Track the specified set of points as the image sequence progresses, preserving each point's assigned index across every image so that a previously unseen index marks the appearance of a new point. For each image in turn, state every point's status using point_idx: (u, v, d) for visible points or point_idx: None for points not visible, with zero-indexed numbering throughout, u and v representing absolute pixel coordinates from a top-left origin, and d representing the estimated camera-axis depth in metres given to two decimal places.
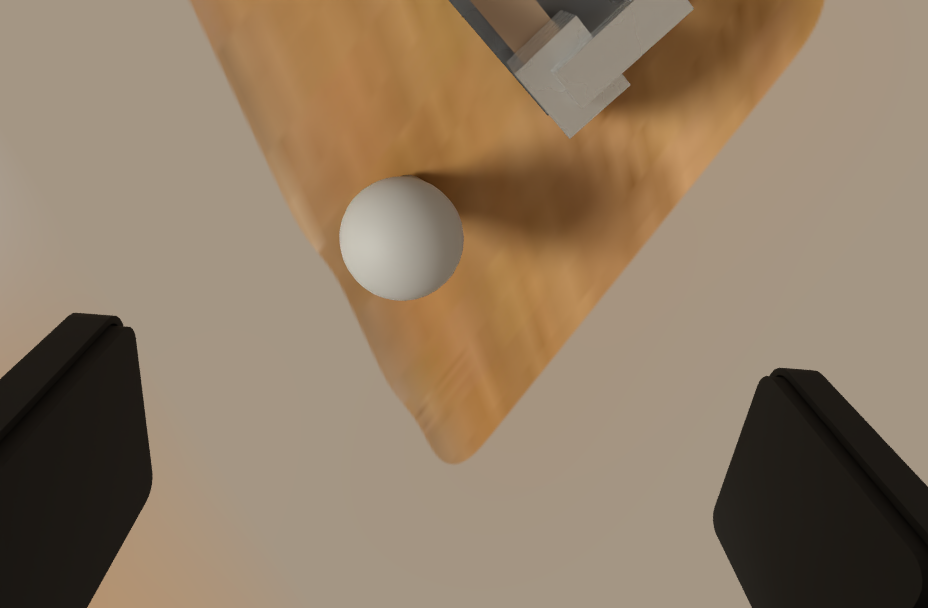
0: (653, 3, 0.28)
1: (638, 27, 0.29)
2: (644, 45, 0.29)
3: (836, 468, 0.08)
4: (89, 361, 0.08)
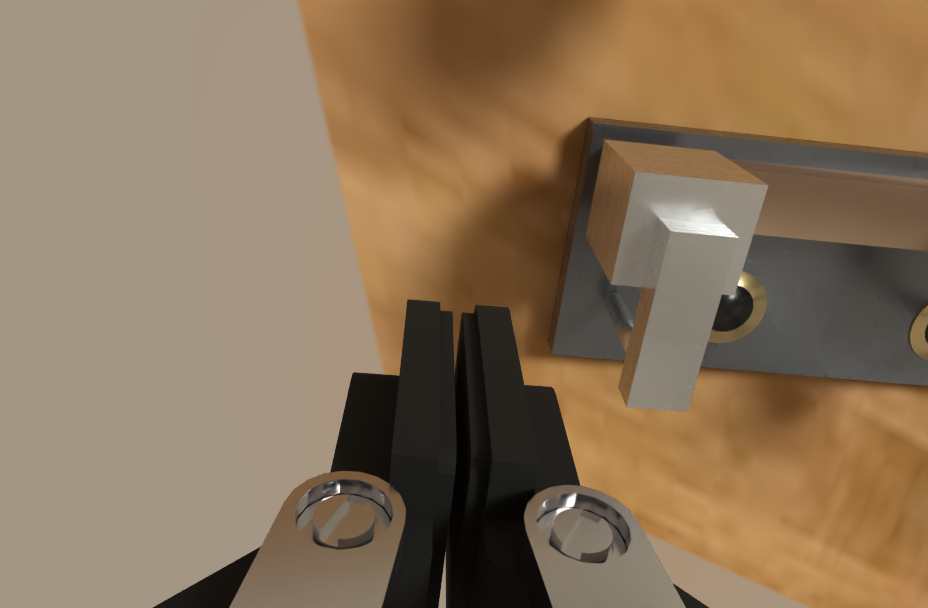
0: (676, 380, 0.21)
1: (673, 351, 0.21)
2: (651, 342, 0.21)
3: (466, 384, 0.09)
4: (448, 339, 0.10)
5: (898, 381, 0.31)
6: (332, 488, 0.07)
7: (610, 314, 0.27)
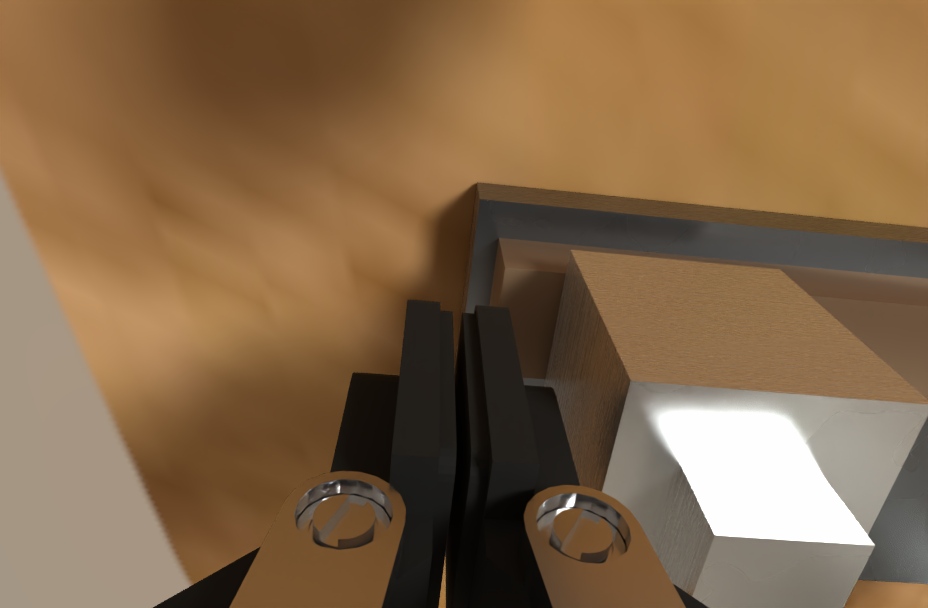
0: None
1: None
2: None
3: (466, 384, 0.09)
4: (448, 340, 0.10)
5: None
6: (332, 488, 0.07)
7: None
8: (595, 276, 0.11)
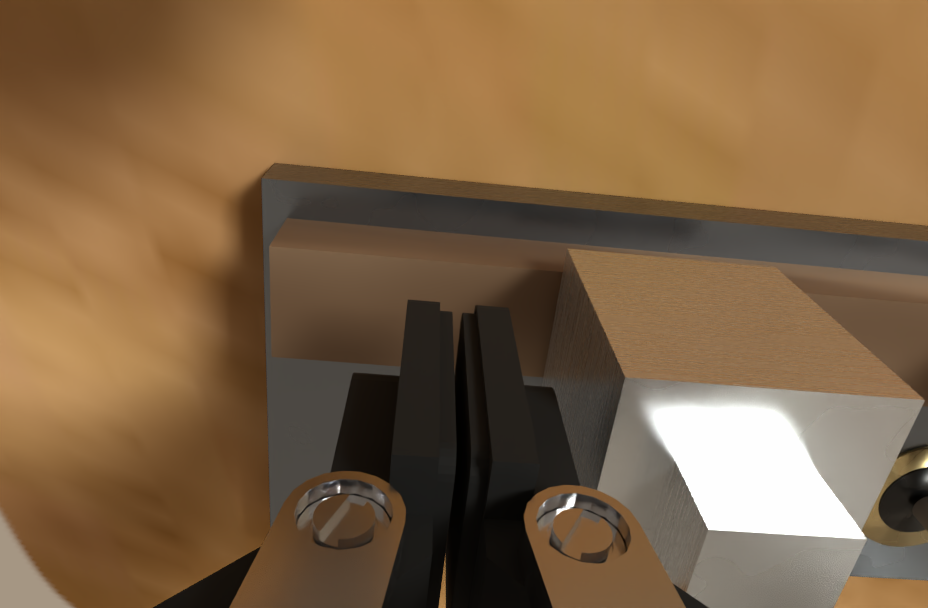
0: None
1: None
2: None
3: (466, 384, 0.09)
4: (447, 339, 0.10)
5: None
6: (332, 488, 0.07)
7: None
8: (591, 274, 0.11)
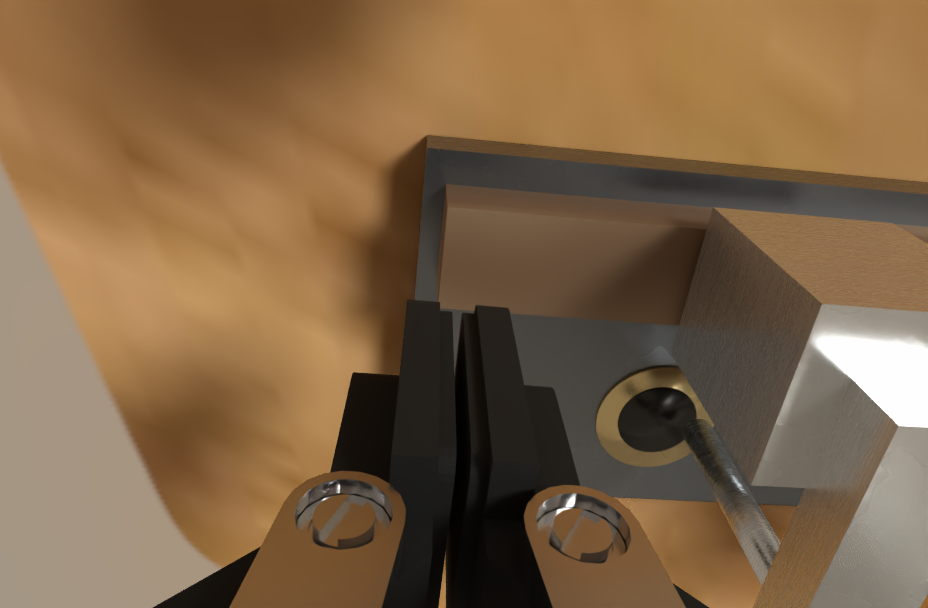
0: None
1: (865, 607, 0.12)
2: (829, 595, 0.11)
3: (466, 384, 0.09)
4: (448, 339, 0.10)
5: None
6: (332, 488, 0.07)
7: (700, 460, 0.17)
8: (746, 227, 0.13)
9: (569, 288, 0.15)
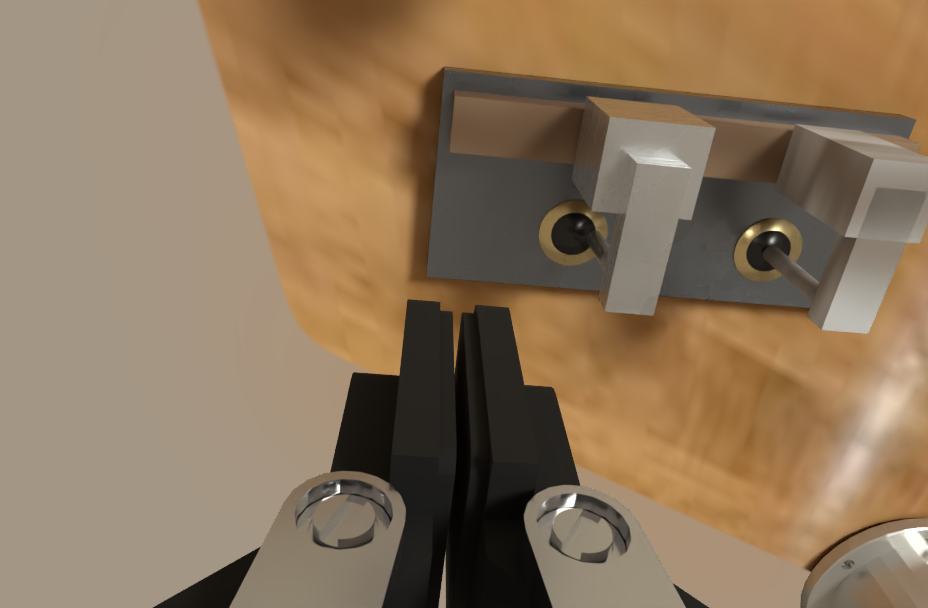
0: (644, 288, 0.26)
1: (641, 263, 0.26)
2: (623, 256, 0.26)
3: (466, 384, 0.09)
4: (448, 339, 0.10)
5: (730, 300, 0.35)
6: (332, 488, 0.07)
7: (592, 247, 0.32)
8: (597, 101, 0.28)
9: (516, 141, 0.30)
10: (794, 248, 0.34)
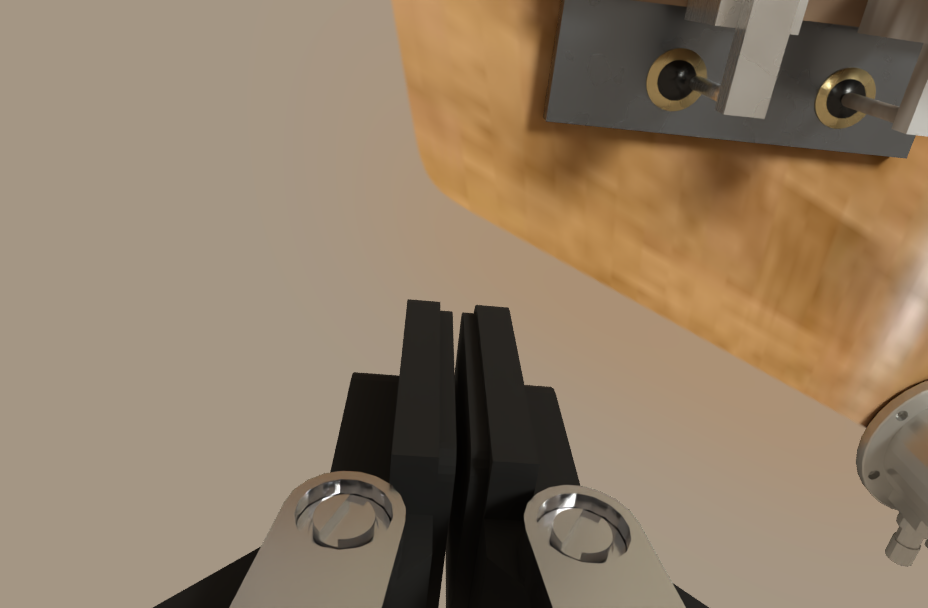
0: (758, 92, 0.31)
1: (758, 68, 0.31)
2: (743, 60, 0.31)
3: (466, 383, 0.09)
4: (448, 339, 0.10)
5: (809, 147, 0.40)
6: (332, 488, 0.07)
7: (697, 85, 0.37)
8: None
9: None
10: (868, 96, 0.39)
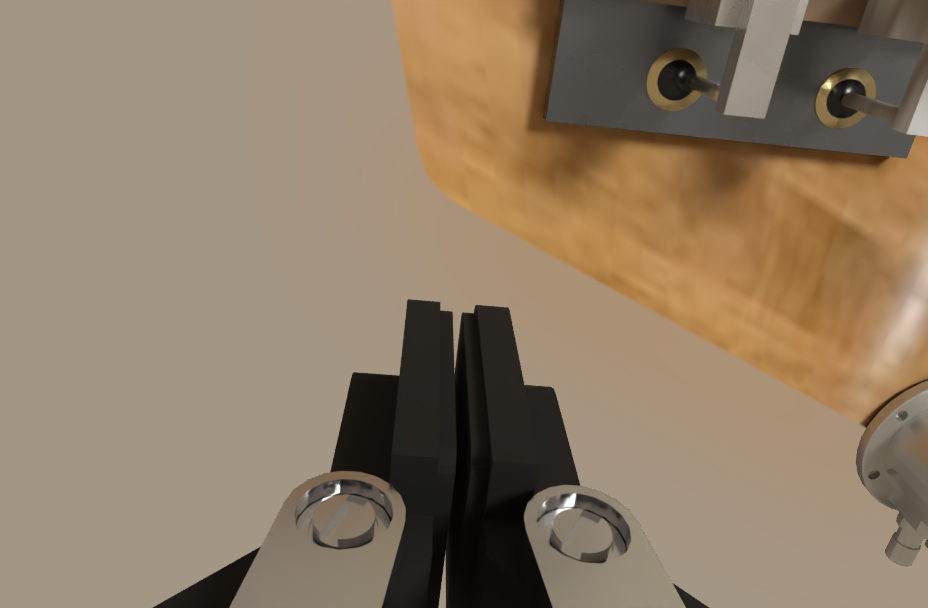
0: (759, 92, 0.31)
1: (758, 68, 0.31)
2: (743, 60, 0.31)
3: (466, 384, 0.09)
4: (448, 339, 0.10)
5: (809, 147, 0.40)
6: (332, 488, 0.07)
7: (698, 85, 0.37)
8: None
9: None
10: (868, 96, 0.39)
